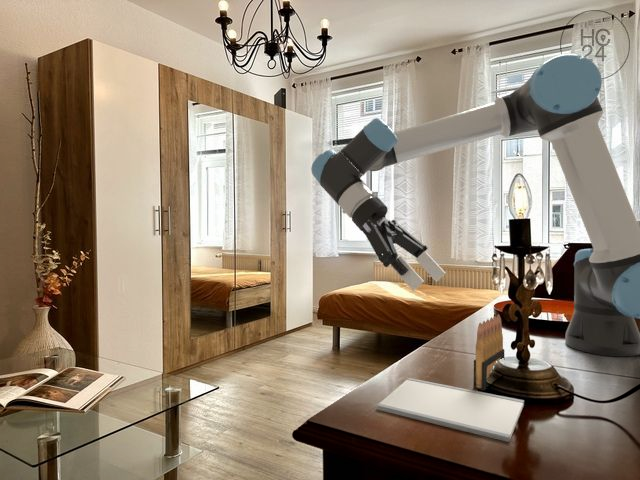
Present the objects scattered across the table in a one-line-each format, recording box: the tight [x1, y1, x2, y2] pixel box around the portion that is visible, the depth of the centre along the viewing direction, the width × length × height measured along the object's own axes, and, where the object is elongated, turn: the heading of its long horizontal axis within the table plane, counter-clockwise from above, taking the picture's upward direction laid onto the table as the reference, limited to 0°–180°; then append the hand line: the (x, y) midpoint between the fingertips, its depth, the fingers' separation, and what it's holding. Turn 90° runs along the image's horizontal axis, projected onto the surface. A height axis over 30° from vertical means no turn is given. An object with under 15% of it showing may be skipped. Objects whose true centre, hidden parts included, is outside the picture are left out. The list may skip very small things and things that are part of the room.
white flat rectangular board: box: [375, 377, 525, 443], centre depth 70 cm, size 20×14×1 cm
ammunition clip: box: [473, 313, 505, 392], centre depth 81 cm, size 11×2×12 cm, turn 137°
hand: (430, 281), depth 86 cm, fingers open, 13 cm apart
